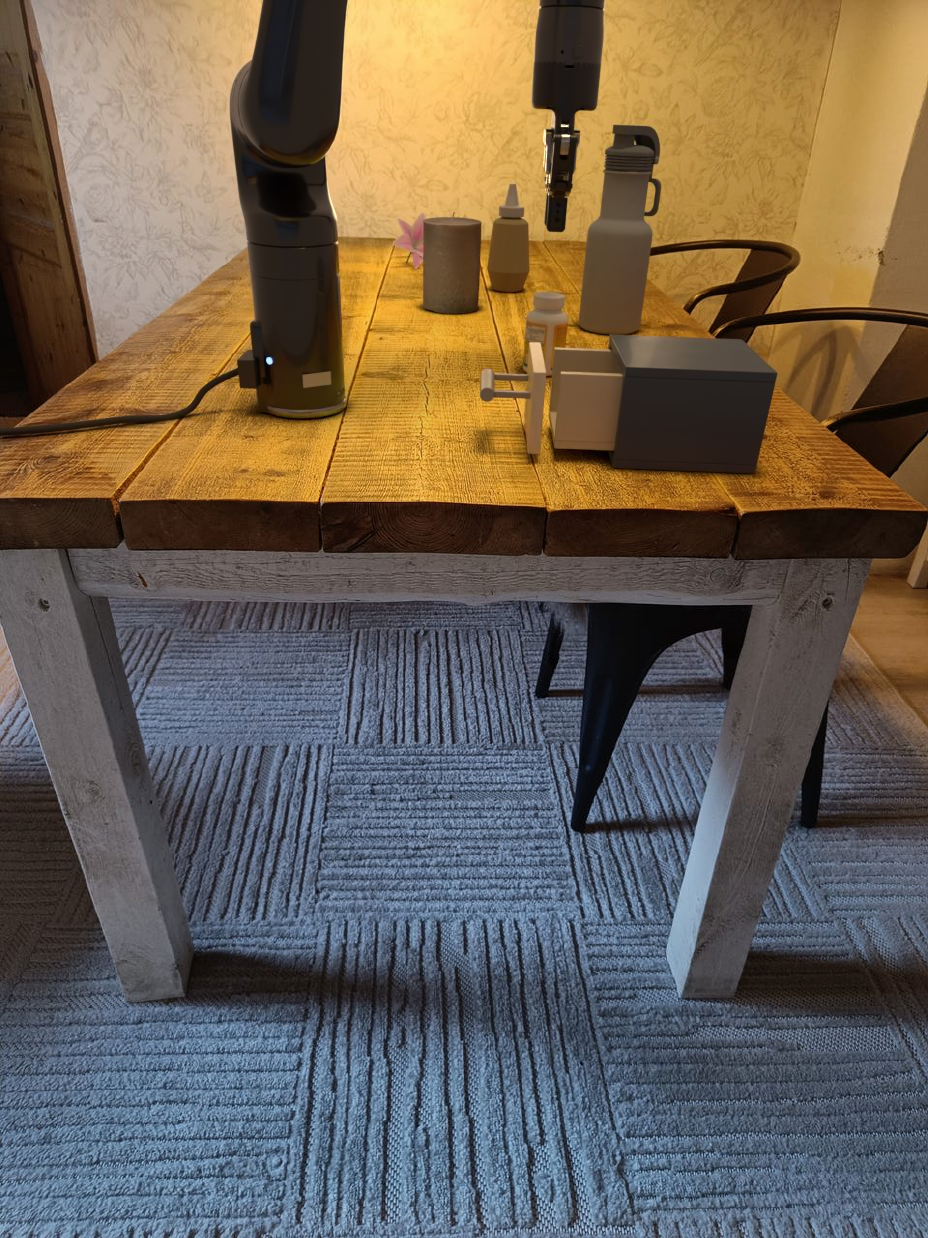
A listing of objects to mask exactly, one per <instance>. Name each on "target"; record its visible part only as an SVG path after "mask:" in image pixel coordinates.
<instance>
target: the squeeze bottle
mask: <svg viewBox="0 0 928 1238" xmlns="http://www.w3.org/2000/svg"><path fill="white" fill-rule="evenodd" d="M498 216H499V217H498V218H495V219H494V220H493V221H492V229H491V237H490V243H489V251H488V257H487V258H488V259H487V265H486V266H487V267H486V270H487V274H488V277H489V282H490V286H491V289H492V290H494V291H496V292H501V293H515V292H516V293H517V292H521V291H522V290H523V289H524V287H525V284H526V282H527V279H528V276H529V273H530V237H529V234H530V233H529V231H530V230H529V222H528V221H527V220H526V219H524V218H523V217H525V206H522V205H520V204H519V194H518V188H517V183H509V184H508V189H507V194H506V197H505V201H504V204H502V205H498Z"/></svg>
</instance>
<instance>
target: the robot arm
mask: <svg viewBox="0 0 928 1238" xmlns="http://www.w3.org/2000/svg"><path fill="white" fill-rule="evenodd" d="M605 4H606V0H539V6H538V7H539V9H538V17H537V22H536V28H535V34H534V35H535V36H534V48H533V49H534V50H533V66H532V82H531V97H530V99H531V100H530V104H531V107H532V108H533V109H534V110H547V111H548V110H549V111H550V112H551V121H550V128H544V129H543V145H544V152H543V153H544V154H543V171H544V173H545V176H544V180H543V181H544V189H545V192H546V193H545V194H546V195H545V206H544V207H545V209H544V220H543V221H544V226H545V227H546V230H547V232H549V233H563V232H564V231H566V223H567V214H568V213H567V212H568V211H567V210H568V202H569V197H570V194H572V189H573V186H574V185H573V184H574V183H573V178H574V177H573V176H574V174H575V172H576V168H577V156H578V155H577V154H578V148H579V145H580V141H581V130H580V129H575V127H576V126H575V123H576V114H577V112H579V111H580V112H593V111H595V110H596V109H597V108H598V101H599V93H600V91H599V90H600V81H601V71H602V60H603V52H604V51H603V49H604V41H605V23H604V22H605V18H604V17H605ZM348 5H349V0H262V3H261V9H260V14H259V22H258V27H257V34H256V39H255V44H254V49H253V54H252V57H251V60H249V61H248V62H246V63H245V64H244V65H243V66H242V67H241V68H240V69H239V71H238V72H237V74H236V76H235V77H234V79H233V83H232V85H231V88H230V93H229V120H230V123H229V124H230V131H231V141H232V150H233V159H234V166H235V174H236V184H237V193H238V199H239V204H240V208H241V213H242V217H243V221H244V227H245V236H246V244H247V245H246V246H247V253H248V254H247V255H248V264H249V275H250V284H251V295H252V305H253V316H254V319H253V320H251V322H250V323H249V332H250V343H251V349H247V350H246V351H244V353H242V354H241V355H240V356H239V357H238V358H237V359H236V366H237V367H236V368H233V369H232V370H229V371H227V372H225V373H222V374H220V375H219V376H216V377H214V378H212V379H211V380H210V381H208V382H207V383H206V384H204V385H203V386H202V387H200V389H199V390H198V392H197V393H196V395H195V396H194V398H193V399H192V401H191V402H190V403H189V404H188V405H187V406H186V407H184V408H181V409H180V410H177V411H174V412H171V413H166V414H165V413H164V414H155V415H154V414H152V415H151V414H150V415H149V414H148V415H145V414H143V415H142V414H141V415H139V414H135V415H120V416H113V417H112V416H111V417H103V418H96V419H88V420H81V421H73V422H64V423H54V424H42V425H41V424H40V425H29V426H16V427H15V426H14V427H13V426H12V427H0V436H1V437H2V436H3V437H4V436H21V435H22V436H23V435H33V434H47V433H57V432H65V431H74V430H82V429H90V428H97V427H99V428H100V427H105V426H113V425H120V424H133V423H134V424H137V423H138V424H139V423H140V424H141V423H158V422H165V421H171V420H172V421H173V420H177V419H181V418H183V417H186V416H188V415H190V414H191V413H193V412H194V411H195V410H196V409H197V408H198V406H199V405H200V403H201V402H202V400H203V399H204V397H205V396H206V395H207V393H209V392H210V391H211V390H212V389H213V388H215V387H217V386H218V385H220V384H222V383H225V382H226V381H229V380H231V379H233V378H235V377H237V376H238V382H239V389H248V390H249V389H252V390H256V400H257V412H258V413H266V414H270V415H274V416H277V417H283V418H290V419H312V418H322V417H327V416H331V415H335V414H337V413H340V412H341V411H343V410H345V408H346V407H347V395H346V382H345V360H344V356H345V355H344V339H343V334H344V333H343V316H342V315H343V314H342V294H341V292H342V291H341V274H340V272H341V269H340V252H339V251H340V249H339V248H340V247H339V229H338V216H337V214H336V213H337V212H336V210H335V208H334V205H333V202H332V199H331V195H330V189H329V185H328V184H329V183H328V182H329V181H328V170H327V157H326V155H327V154H328V153H329V151H330V150H331V148H332V146H333V145H334V142H335V140H336V138H337V135H338V132H339V129H340V124H341V115H342V103H343V102H342V101H343V100H342V99H343V81H344V62H345V61H344V60H345V46H346V45H345V43H346V41H345V40H346V27H347V16H348V7H349V6H348Z"/></svg>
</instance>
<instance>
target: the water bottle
mask: <svg viewBox="0 0 928 1238" xmlns="http://www.w3.org/2000/svg"><path fill="white" fill-rule="evenodd" d="M611 134H612V135H613V136H614V137H613V142H612V145H610V146H608V147H607V148H606V149H605V150H604V155H605V158H604V165H603V167H604V169H603V170H602V172H603V173H604V175H603V183H602V193H601V203H600V210H599V211H600V212H599V217H598V218H597V219H595V220H593V221H592V222H591V223H590V225H589V227H588V228H587V233H586V242H585V243H586V244H585V253H584V265H583V272H582V273H583V274H582V283H581V291H580V293H581V294H580V303H579V304H580V305H579V313H578V325H579V327H580V328H582V329H583V330H584V331H587V332H590V333H594V334H598V335H599V334H600V335H609V336H610V335H630V334H633V333H635V332H637V331H638V330H639V329H640V327H641V323H642V316H643V315H642V314H643V309H644V300H645V293H646V287H647V280H648V272H649V265H650V258H651V257H650V256H651V252H652V251H651V250H652V244H653V229H652V227H651V225H650V224H649V223H648V222H647V221H646V220H645V217H655V215H657V213H658V211H659V208H660V200H661V192H662V183H661V181H660V179H658V178H654V177H653V173H654V166H655V165H658V164H659V162H660V155H661V142H660V137H659V134H658V132H657V131H656V129H655V128H653V127H652V126H650V125H636V124H612V133H611ZM649 183H651V184H652V185H653V186H654V198H653V205H652V208H651V210H649V211H646V204H647V198H648V188H649Z"/></svg>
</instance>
